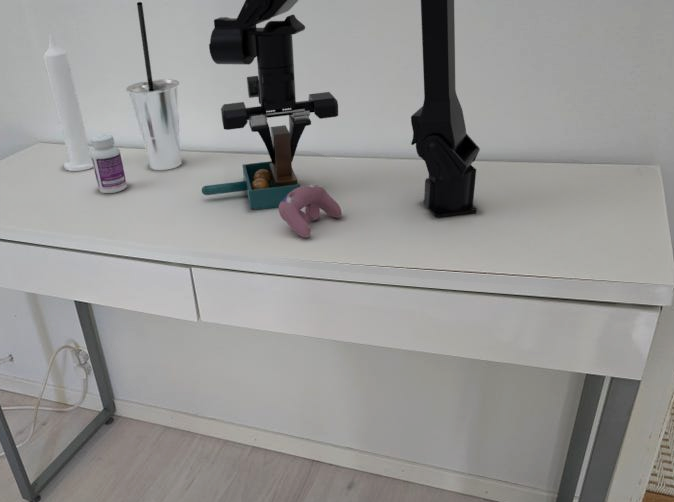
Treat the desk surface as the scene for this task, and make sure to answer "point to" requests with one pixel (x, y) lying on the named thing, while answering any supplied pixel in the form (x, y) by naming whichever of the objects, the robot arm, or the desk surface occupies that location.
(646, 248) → the desk surface
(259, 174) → the ball far
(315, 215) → the video game controller
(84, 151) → the candle
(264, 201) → the dustpan
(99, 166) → the pill bottle
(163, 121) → the tumbler with straw
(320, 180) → the desk surface
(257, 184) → the ball near
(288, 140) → the brown thick angular block
